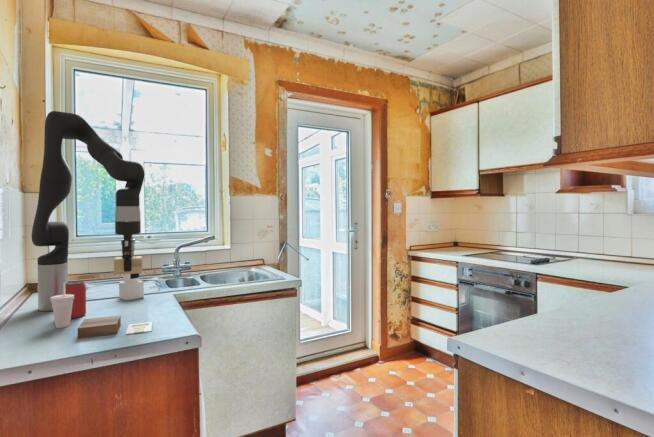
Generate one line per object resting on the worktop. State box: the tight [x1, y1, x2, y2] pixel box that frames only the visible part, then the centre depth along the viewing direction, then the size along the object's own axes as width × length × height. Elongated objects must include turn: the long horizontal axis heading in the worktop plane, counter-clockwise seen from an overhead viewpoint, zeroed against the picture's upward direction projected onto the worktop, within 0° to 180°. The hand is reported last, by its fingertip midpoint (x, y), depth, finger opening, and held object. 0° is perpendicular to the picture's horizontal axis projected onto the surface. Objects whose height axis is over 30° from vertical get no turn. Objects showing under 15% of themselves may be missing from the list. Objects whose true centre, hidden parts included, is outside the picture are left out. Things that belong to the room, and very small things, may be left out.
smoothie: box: [50, 283, 74, 329], centre depth 118 cm, size 6×6×14 cm
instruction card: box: [125, 321, 153, 336], centre depth 116 cm, size 10×7×1 cm
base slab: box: [77, 315, 122, 339], centre depth 113 cm, size 10×10×3 cm
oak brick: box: [113, 255, 143, 276], centre depth 123 cm, size 6×8×5 cm
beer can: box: [65, 280, 87, 319], centre depth 130 cm, size 7×7×12 cm
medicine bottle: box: [118, 273, 145, 301], centre depth 157 cm, size 7×7×12 cm
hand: (128, 269), depth 123 cm, fingers closed on oak brick, 6 cm apart
